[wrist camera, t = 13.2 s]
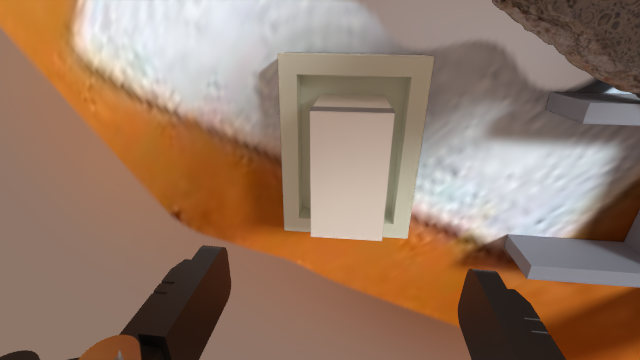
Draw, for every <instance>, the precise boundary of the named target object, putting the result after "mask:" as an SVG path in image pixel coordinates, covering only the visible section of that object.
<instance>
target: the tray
mask: <svg viewBox="0 0 640 360" xmlns="http://www.w3.org/2000/svg"><path fill="white" fill-rule="evenodd" d="M434 58H435V57H433V56H429V55H407V54H355V53H303V52H284V53H279V54H278V78H279V104H280V130H281V156H282V182H283V208H284V230H288V231H302V232H311V208H310V109H311V107H312V106H314V104H315V103H316V101H317V99H318V98H319V96H320V94H350V95H385V96H386V98H387V100H388V102H389V104H390V106H391V108H393V109H394V111H395V119H394V128H393V138H392V148H391V158H390V168H389V178H388V187H387V197H386V207H385V217H384V227H383V237H391V238H406V239H407V237H408V230H409V224H410V217H411V210H412V204H413V197H414V190H415V184H416V177H417V170H418V164H419V157H420V151H421V144H422V137H423V131H424V124H425V117H426V111H427V104H428V97H429V91H430V84H431V78H432V71H433V64H434Z"/></svg>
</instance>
